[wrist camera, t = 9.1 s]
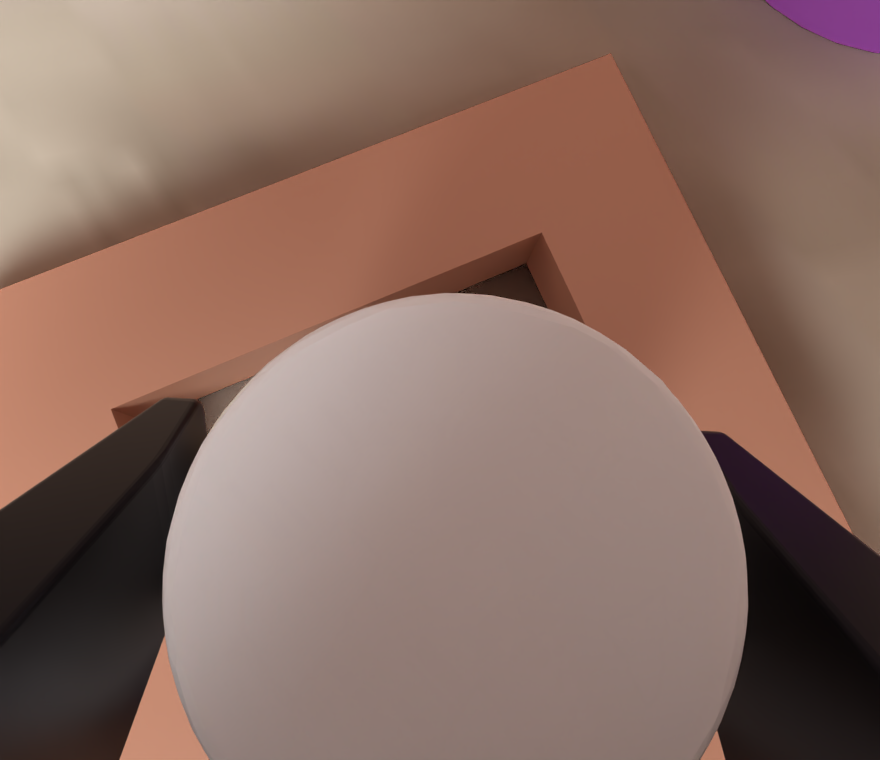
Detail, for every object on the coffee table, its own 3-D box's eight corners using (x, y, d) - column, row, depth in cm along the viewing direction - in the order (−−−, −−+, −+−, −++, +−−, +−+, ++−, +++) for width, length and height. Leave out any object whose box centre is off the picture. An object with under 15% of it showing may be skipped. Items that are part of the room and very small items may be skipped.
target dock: (893, 717, 17) (959, 746, 15) (216, 1063, 15) (189, 1146, 13) (588, 102, 19) (610, 52, 17) (-40, 348, 17) (-98, 326, 15)
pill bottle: (269, 404, 16) (92, 232, 6) (545, 391, 17) (775, 212, 7) (275, 700, 15) (80, 1029, 5) (568, 678, 16) (874, 948, 6)
